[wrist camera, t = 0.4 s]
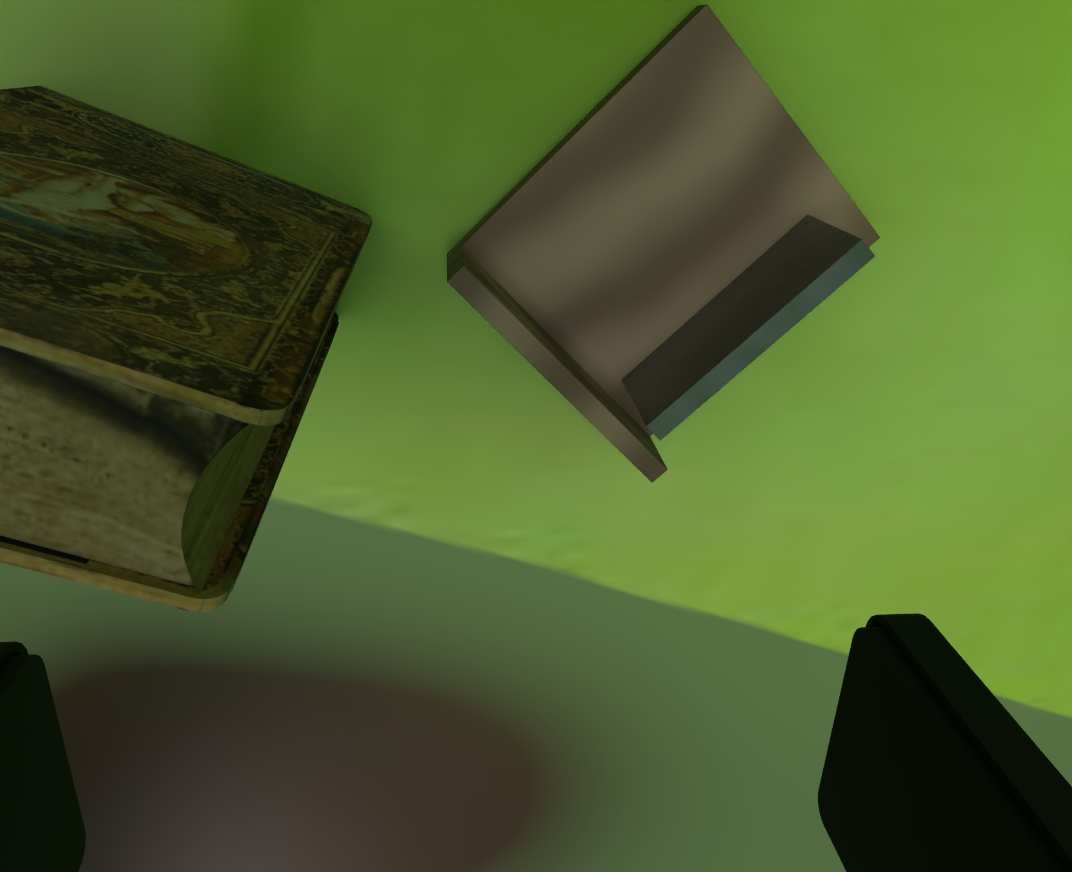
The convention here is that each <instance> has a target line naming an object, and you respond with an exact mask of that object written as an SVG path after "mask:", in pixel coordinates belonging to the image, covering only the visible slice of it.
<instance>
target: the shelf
mask: <svg viewBox="0 0 1072 872" xmlns="http://www.w3.org/2000/svg"><path fill="white" fill-rule="evenodd" d="M879 238H880V237H879V235H878V234H877V233H876V231H875V230H874V229H873V227H872V226H871V225H870V223H869V222H868V221H867V219H866V218H865V217H864V215H863V214H862V213H861V211H860V210H859V209H858V207H857V206H856V204H855V203H854V202H853V200H852V199H851V198H850V196H849V195H848V194H847V192H846V191H845V190H844V188H843V187H842V186H841V184H840V183H839V182H838V180H837V179H836V177H835V176H834V175H833V173H832V172H831V171H830V169H829V168H828V167H827V165H826V164H825V163H824V161H823V160H822V159H821V157H820V156H819V155H818V153H817V152H816V151H815V149H814V148H813V146H812V145H811V144H810V142H809V141H808V140H807V138H806V137H805V136H804V134H803V133H802V132H801V130H800V129H799V128H798V126H797V125H796V124H795V122H794V121H793V120H792V118H791V117H790V115H789V114H788V113H787V111H786V110H785V109H784V107H783V106H782V105H781V103H780V102H779V101H778V99H777V98H776V97H775V95H774V94H773V93H772V91H771V90H770V89H769V87H768V86H767V84H766V83H765V82H764V80H763V79H762V78H761V76H760V75H759V74H758V72H757V71H756V70H755V68H754V67H753V66H752V64H751V63H750V62H749V60H748V59H747V58H746V56H745V55H744V53H743V52H742V51H741V49H740V48H739V47H738V45H737V44H736V43H735V41H734V40H733V39H732V37H731V36H730V35H729V33H728V32H727V31H726V29H725V28H724V27H723V25H722V24H721V22H720V21H719V20H718V18H717V17H716V16H715V14H714V13H713V12H712V10H711V9H710V8H709V6H708V5H707V4H706V5H700V6H697V7H696V8H695V9H694V10H693V11H692V12H691V13H690V14H689V15H688V16H687V17H686V18H685V19H684V20H683V21H682V22H681V23H680V24H679V25H678V26H677V27H676V28H675V29H674V30H673V31H672V32H671V33H670V34H669V35H668V36H667V37H666V38H665V39H664V40H663V41H662V42H661V43H660V44H659V45H658V46H657V47H656V48H655V49H654V50H653V51H652V52H651V53H650V54H649V55H648V56H647V57H646V58H645V59H644V60H643V61H642V62H641V63H640V64H639V65H638V66H637V67H636V68H635V69H634V70H632V71H631V72H630V73H629V74H628V75H627V76H626V77H625V78H624V79H623V80H622V81H621V82H620V83H619V84H618V85H617V86H616V87H615V88H614V89H613V90H612V91H611V92H610V93H609V94H608V95H607V96H606V97H605V98H604V99H603V100H602V101H601V102H600V103H599V104H598V105H597V106H596V107H595V108H594V109H593V110H592V111H591V112H590V113H589V114H588V115H587V116H586V117H585V118H584V119H583V120H582V121H581V122H580V123H579V124H578V125H577V126H576V127H575V128H574V129H573V130H572V131H571V132H570V133H569V134H568V135H567V136H566V137H565V138H564V139H563V140H562V141H561V142H560V143H559V144H558V145H557V146H556V147H555V148H554V149H553V150H552V151H551V152H550V153H549V154H548V155H547V156H546V157H545V158H544V159H543V160H542V161H540V162H539V163H538V164H537V165H536V166H535V167H534V168H533V169H532V170H531V171H530V172H529V173H528V174H527V175H526V176H525V177H524V178H523V179H522V180H521V181H520V182H519V183H518V184H517V185H516V186H515V187H514V188H513V189H512V190H511V191H510V192H509V193H508V194H507V195H506V196H505V197H504V198H503V199H502V200H501V201H500V202H499V203H498V204H497V205H496V206H495V207H494V208H493V209H492V210H491V211H490V212H489V213H488V214H487V215H486V216H485V217H484V218H483V219H482V220H481V221H480V222H479V223H478V224H477V225H476V226H475V227H474V228H473V229H472V230H471V231H470V232H469V233H468V234H467V235H466V236H465V237H464V238H463V239H462V240H461V241H460V242H459V243H458V244H457V245H456V246H455V247H454V248H453V249H452V250H451V251H450V252H449V253H447V282H448V283H449V284H450V285H451V286H452V287H453V288H454V289H455V290H456V291H457V292H458V293H459V294H460V295H461V296H462V297H463V298H464V299H465V300H466V301H467V302H468V303H469V304H470V305H471V306H472V307H473V308H475V309H476V310H477V311H478V312H479V313H480V314H481V315H482V316H483V317H484V318H485V319H486V320H487V321H488V322H489V323H490V324H491V325H492V326H493V327H494V328H495V329H496V330H497V331H498V332H499V333H500V334H501V335H502V336H503V337H504V338H505V339H506V340H507V341H508V342H509V343H510V344H511V345H512V346H513V347H514V348H515V349H516V350H517V351H518V352H519V353H520V354H521V355H522V356H523V357H524V358H525V359H526V360H527V361H528V362H530V363H531V364H532V365H533V366H534V367H535V368H536V369H537V370H538V371H539V372H540V373H541V374H542V375H543V376H544V377H545V378H546V379H547V380H548V381H549V382H550V383H551V384H552V385H553V386H554V387H555V388H556V389H557V390H558V391H559V392H560V393H561V394H562V395H563V396H564V397H565V398H566V399H567V400H568V401H569V402H570V403H571V404H572V405H573V406H574V407H575V408H576V409H577V410H578V411H579V412H580V413H581V414H582V415H584V416H585V417H586V418H587V419H588V420H589V421H590V422H591V423H592V424H593V425H594V426H595V427H596V428H597V429H598V430H599V431H600V432H601V433H602V434H603V435H604V436H605V437H606V438H607V439H608V440H609V441H610V442H611V443H612V444H613V445H614V446H615V447H616V448H617V449H618V450H619V451H620V452H621V453H622V454H623V455H624V456H625V457H626V458H627V459H628V460H629V461H630V462H631V463H632V464H633V465H634V466H635V467H636V468H637V469H639V470H640V471H641V472H642V473H643V474H644V475H645V476H646V477H647V478H648V479H649V480H650V481H651V482H654V481H655V480H656V479H657V478H658V477H659V476H661V475H662V474H663V473H664V472H665V471H666V470H667V468H666V466H665V464H664V462H663V460H662V458H661V456H660V455H659V453H658V451H657V449H656V447H655V445H654V443H653V441H652V439H651V438H650V435H652V434H654V435H655V436H656V437H657V438H658V439H659V440H662V439H663V438H664V437H665V436H666V435H667V434H668V433H670V432H671V431H672V430H673V429H674V428H675V427H677V426H678V425H679V424H680V423H681V422H682V421H684V420H685V419H686V418H687V417H688V416H689V415H691V414H692V413H693V412H694V411H695V410H696V409H698V408H699V407H700V406H701V405H702V404H703V403H705V402H706V401H707V400H708V399H709V398H710V397H712V396H713V395H714V394H715V393H716V392H717V391H719V390H720V389H721V388H722V387H723V386H724V385H726V384H727V383H728V382H729V381H730V380H731V379H733V378H734V377H735V376H736V375H737V374H738V373H740V372H741V371H742V370H743V369H744V368H745V367H747V366H748V365H749V364H750V363H751V362H752V361H754V360H755V359H756V358H757V357H758V356H759V355H761V354H762V353H763V352H764V351H765V350H766V349H768V348H769V347H770V346H771V345H772V344H773V343H775V342H776V341H777V340H778V339H779V338H780V337H782V336H783V335H784V334H785V333H786V332H787V331H789V330H790V329H791V328H792V327H793V326H794V325H796V324H797V323H798V322H799V321H800V320H801V319H803V318H804V317H805V316H806V315H807V314H808V313H810V312H811V311H812V310H813V309H814V308H815V307H816V306H818V305H819V304H820V303H821V302H822V301H823V300H825V299H826V298H827V297H828V296H829V295H830V294H832V293H833V292H834V291H835V290H836V289H837V288H839V287H840V286H841V285H842V284H843V283H844V282H846V281H847V280H848V279H849V278H850V277H851V276H853V275H854V274H855V273H856V272H857V271H858V270H860V269H861V268H862V267H863V266H864V265H865V264H867V263H868V262H869V261H870V260H871V259H872V258H874V257H875V255H874V254H873V253H872V251H871V250H870V249H869V247H870V246H871V245H872V244H873V243H874V242H875V241H876V240H878V239H879Z"/></svg>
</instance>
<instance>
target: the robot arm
mask: <svg viewBox="0 0 1072 872" xmlns="http://www.w3.org/2000/svg"><path fill="white" fill-rule="evenodd" d="M818 805H819V812H820V816H821V819H822V822H823V824H824V827H825V829H826V831H827V833H828V835H829V837H830V839H831V841H832V843H833V845H834V847H835V849H836V851H837V853H838V855H839V857H840V859H841V862H842V864H843V866H844V868H845V870H846V872H1072V787H1071V785H1070V784H1069V783H1068V782H1067V781H1066V779H1065V778H1064V777H1063V776H1062V775H1061V774H1060V772H1059V771H1058V770H1057V769H1056V768H1055V767H1054V765H1053V764H1052V763H1051V762H1050V761H1049V760H1048V758H1047V757H1046V756H1045V755H1044V754H1043V753H1042V751H1041V750H1040V749H1039V748H1038V747H1037V746H1036V744H1035V743H1034V742H1033V741H1032V740H1031V738H1030V737H1029V736H1028V735H1027V734H1026V732H1025V731H1024V730H1023V729H1022V728H1021V727H1020V726H1019V724H1018V723H1017V722H1016V721H1015V720H1014V719H1013V717H1012V716H1011V715H1010V714H1009V713H1008V711H1007V710H1006V709H1005V708H1004V707H1003V706H1002V704H1001V703H1000V702H999V701H998V700H997V698H996V697H995V696H994V695H993V694H992V693H991V691H990V690H989V689H988V688H987V687H986V685H985V684H984V683H983V682H982V681H981V680H980V678H979V677H978V676H977V675H976V674H975V673H974V671H973V670H972V669H971V668H970V667H969V666H968V664H967V663H966V662H965V661H964V660H963V658H962V657H961V656H960V655H959V654H958V653H957V651H956V650H955V649H954V648H953V647H952V646H951V644H950V643H949V642H948V641H947V640H946V638H945V637H944V636H943V635H942V634H941V633H940V631H939V630H938V629H937V628H936V627H935V626H934V624H933V623H932V622H931V621H930V620H929V619H928V618H927V617H926V616H924V615H922V614H887V615H875V616H872V617H871V618H870V619H869V620H868V622H867V624H866V627H861V628H858V629H857V630H856V631H855V633H854V636H853V639H852V643H851V648H850V652H849V657H848V661H847V666H846V670H845V675H844V679H843V684H842V688H841V692H840V697H839V701H838V706H837V711H836V715H835V719H834V724H833V728H832V732H831V737H830V742H829V746H828V750H827V755H826V759H825V764H824V768H823V773H822V777H821V782H820V786H819V791H818ZM85 843H86V834H85V827H84V823H83V820H82V815H81V811H80V807H79V803H78V799H77V795H76V791H75V787H74V783H73V778H72V774H71V770H70V766H69V763H68V758H67V754H66V750H65V746H64V742H63V738H62V734H61V730H60V725H59V721H58V717H57V713H56V709H55V705H54V701H53V697H52V693H51V689H50V685H49V681H48V677H47V672H46V668H45V665H44V662H43V659H42V658H41V657H40V656H38V655H29V654H28V652H27V649H26V648H25V647H24V646H23V644H22V643H19V642H0V872H78V871H79V868H80V866H81V863H82V860H83V856H84V851H85Z"/></svg>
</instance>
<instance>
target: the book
mask: <svg viewBox="0 0 1072 872" xmlns="http://www.w3.org/2000/svg"><path fill="white" fill-rule="evenodd" d="M371 225H372V221H371V217H370V216H369V215H368V214H366V213H365V212H363V211H361V210H359V209H356V208H354V207H351V206H349V205H346V204H344V203H341V202H339V201H336V200H334V199H331V198H328V197H326V196H323V195H321V194H318V193H316V192H313V191H311V190H308V189H306V188H303V187H301V186H298V185H296V184H293V183H290V182H288V181H285V180H283V179H280V178H277V177H275V176H272V175H270V174H267V173H264V172H262V171H259V170H257V169H254V168H251V167H249V166H246V165H244V164H241V163H239V162H236V161H233V160H231V159H228V158H226V157H223V156H220V155H218V154H215V153H213V152H210V151H207V150H205V149H202V148H200V147H197V146H194V145H192V144H189V143H187V142H184V141H181V140H179V139H176V138H174V137H171V136H168V135H166V134H163V133H161V132H158V131H156V130H153V129H150V128H148V127H145V126H143V125H140V124H137V123H135V122H132V121H130V120H127V119H124V118H122V117H119V116H117V115H114V114H111V113H109V112H106V111H104V110H101V109H98V108H96V107H93V106H91V105H88V104H85V103H83V102H80V101H78V100H75V99H73V98H70V97H67V96H65V95H62V94H60V93H57V92H54V91H52V90H49V89H47V88H44V87H41V86H35V87H24V88H13V89H2V90H0V562H2V563H6V564H10V565H14V566H17V567H21V568H25V569H29V570H33V571H37V572H41V573H45V574H49V575H52V576H57V577H61V578H64V579H68V580H72V581H76V582H80V583H83V584H87V585H91V586H95V587H99V588H103V589H107V590H111V591H115V592H118V593H122V594H127V595H130V596H134V597H138V598H141V599H145V600H149V601H153V602H157V603H161V604H165V605H169V606H172V607H176V608H179V609H183V610H188V611H195V612H205V611H211V610H214V609H216V608H218V607H220V606H221V605H222V604H223V603H224V602H225V601H226V600H227V598H228V596H229V594H230V592H231V591H232V589H233V587H234V584H235V582H236V580H237V578H238V575H239V573H240V571H241V568H242V566H243V563H244V561H245V558H246V556H247V553H248V551H249V548H250V546H251V543H252V541H253V538H254V536H255V533H256V531H257V528H258V526H259V523H260V521H261V518H262V516H263V513H264V511H265V508H266V506H267V503H268V501H269V498H270V496H271V493H272V491H273V488H274V486H275V483H276V481H277V478H278V476H279V473H280V471H281V468H282V466H283V463H284V461H285V458H286V456H287V453H288V451H289V448H290V446H291V443H292V441H293V438H294V436H295V433H296V431H297V428H298V426H299V423H300V421H301V418H302V416H303V413H304V411H305V408H306V406H307V403H308V401H309V398H310V396H311V393H312V391H313V388H314V386H315V383H316V381H317V378H318V376H319V373H320V371H321V368H322V366H323V363H324V361H325V358H326V356H327V353H328V351H329V348H330V346H331V343H332V341H333V338H334V335H335V333H336V330H337V327H338V324H339V322H338V319H339V318H338V315H337V314H336V313H335V309H336V307H337V305H338V303H339V300H340V298H341V296H342V293H343V291H344V289H345V287H346V284H347V282H348V280H349V277H350V275H351V273H352V271H353V268H354V266H355V264H356V261H357V259H358V257H359V254H360V252H361V250H362V248H363V245H364V243H365V241H366V238H367V236H368V233H369V231H370V228H371Z"/></svg>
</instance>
